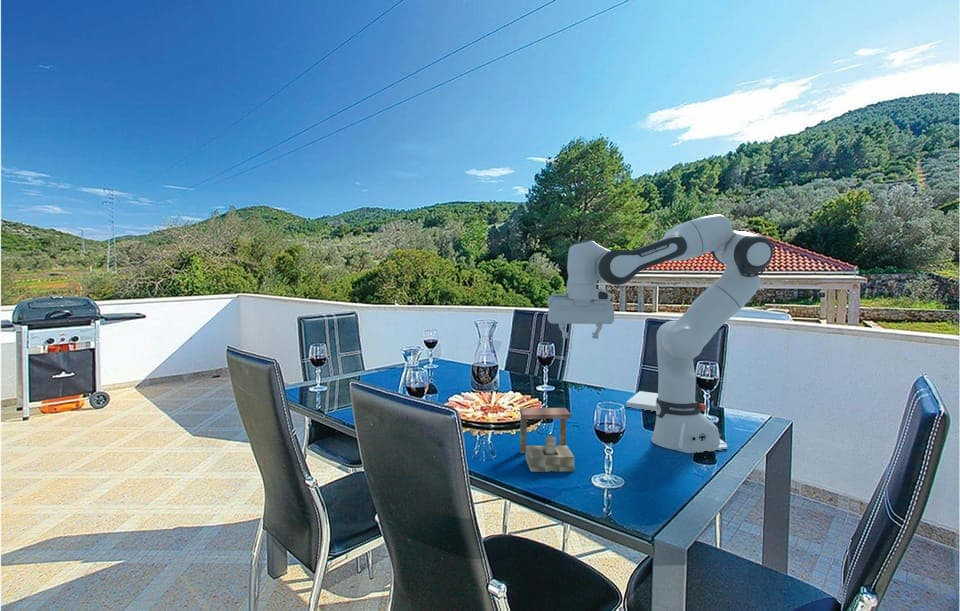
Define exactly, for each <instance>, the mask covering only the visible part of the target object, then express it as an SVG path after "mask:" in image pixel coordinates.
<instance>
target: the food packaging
mask: <svg viewBox="0 0 960 611" xmlns="http://www.w3.org/2000/svg"><path fill="white" fill-rule="evenodd" d="M657 397H658V392H652V391H651V392H649V391H643V390H639V391H638V392H637V393H636V394H634V395H633V396H632V397H630V398H629V399H628V400H627V401H626V402H625V407H626V406H627V407H632V408H639V409H644V410H643V411H646V410H651V411H650V412H653V411H656V398H657ZM627 407H626V408H627ZM632 408H631V409H632ZM639 409H638V410H639Z"/></svg>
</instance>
